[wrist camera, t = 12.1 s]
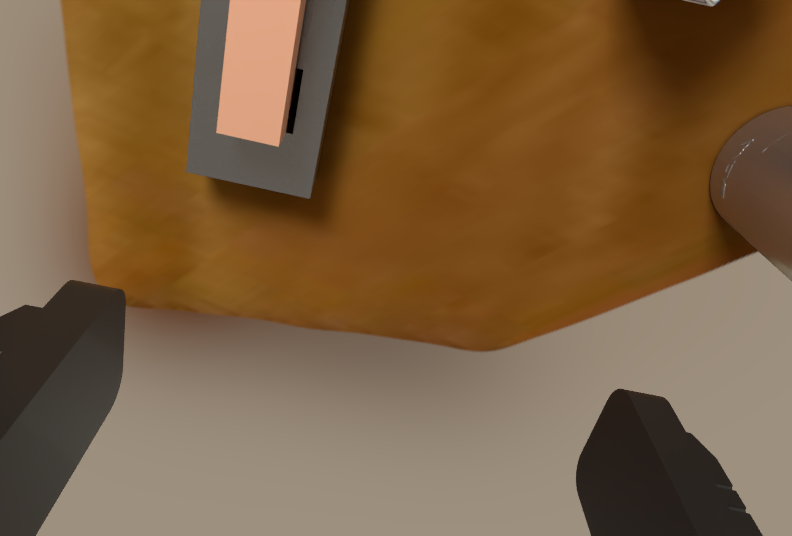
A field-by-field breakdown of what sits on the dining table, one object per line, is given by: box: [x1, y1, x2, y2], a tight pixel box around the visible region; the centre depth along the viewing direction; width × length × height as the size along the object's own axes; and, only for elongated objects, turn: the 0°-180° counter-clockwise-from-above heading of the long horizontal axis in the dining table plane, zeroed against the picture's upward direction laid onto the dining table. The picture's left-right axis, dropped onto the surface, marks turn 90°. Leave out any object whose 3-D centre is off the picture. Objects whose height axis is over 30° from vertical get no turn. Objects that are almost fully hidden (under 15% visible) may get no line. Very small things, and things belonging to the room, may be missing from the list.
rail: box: [186, 0, 350, 199], centre depth 38 cm, size 8×22×4 cm, turn 167°
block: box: [216, 0, 306, 147], centre depth 37 cm, size 4×14×6 cm, turn 167°
